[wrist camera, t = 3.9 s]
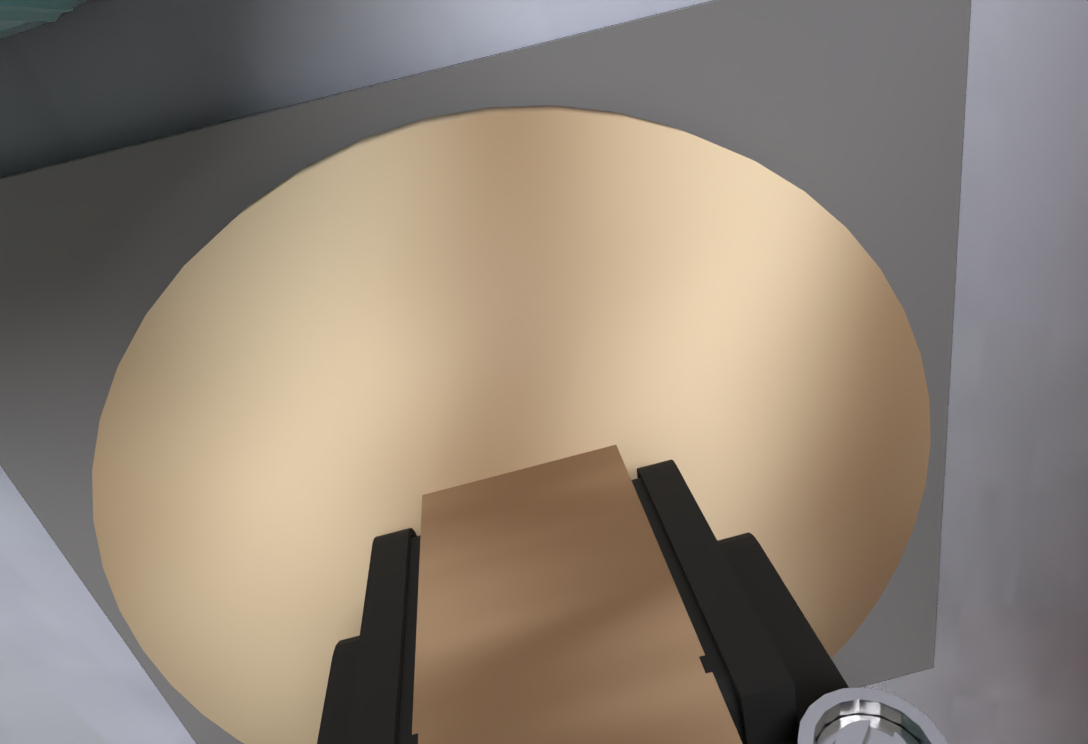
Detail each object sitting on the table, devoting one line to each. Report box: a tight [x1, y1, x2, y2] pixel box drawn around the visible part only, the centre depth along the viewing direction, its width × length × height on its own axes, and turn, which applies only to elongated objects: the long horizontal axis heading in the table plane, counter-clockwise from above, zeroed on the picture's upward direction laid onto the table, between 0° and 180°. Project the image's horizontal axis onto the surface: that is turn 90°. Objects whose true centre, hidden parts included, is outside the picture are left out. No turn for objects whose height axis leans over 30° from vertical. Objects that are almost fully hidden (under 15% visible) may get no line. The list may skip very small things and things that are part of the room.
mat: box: [0, 0, 971, 744], centre depth 12 cm, size 15×14×1 cm
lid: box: [92, 105, 931, 744], centre depth 9 cm, size 13×13×7 cm
